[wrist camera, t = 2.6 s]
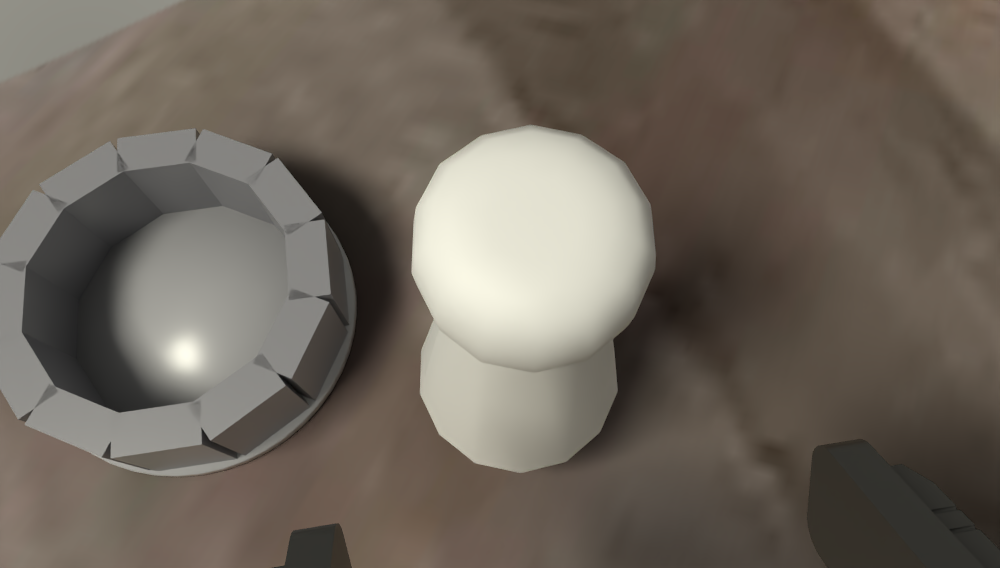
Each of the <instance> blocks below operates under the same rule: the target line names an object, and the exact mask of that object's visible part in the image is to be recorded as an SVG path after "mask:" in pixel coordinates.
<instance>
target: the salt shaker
mask: <svg viewBox="0 0 1000 568" xmlns="http://www.w3.org/2000/svg"><path fill="white" fill-rule="evenodd" d="M655 262H656V250H655V240H654V231H653V221H652V212H651V205H650V203H649V201H648V200H647V198H646V196H645V195H644V193H643V192H642V190H641V188H640V187H639V185H638V183H637V182H636V180H635V178H634V177H633V175H632V174H631V172H630V170H629V169H628V167H627V165H626V164H625V162H623V161H622V160H620V159H619V158H617V157H615V156H614V155H612V154H611V153H609V152H608V151H606V150H605V149H603V148H601V147H600V146H598V145H597V144H595V143H594V142H592V141H591V140H589V139H587V138H586V137H584V136H583V135H580V134H575V133H570V132H565V131H560V130H555V129H550V128H545V127H540V126H535V125H528V126H523V127H518V128H514V129H509V130H505V131H500V132H496V133H491V134H486V135H482V136H480V137H478V138H477V139H475V140H474V141H473V142H471V143H470V144H468V145H467V146H465V147H464V148H462V149H461V150H459V151H458V152H457V153H455V154H454V155H452V156H451V157H449V158H448V159H446V160H445V161H443V162H442V163H441V164H439V166H438V168H437V170H436V172H435V174H434V175H433V177H432V179H431V181H430V183H429V185H428V187H427V188H426V190H425V192H424V194H423V196H422V198H421V199H420V201H419V203H418V205H417V207H416V211H415V217H414V225H413V250H412V275H413V277H414V280H415V282H416V284H417V287H418V288H419V290H420V292H421V294H422V296H423V298H424V300H425V302H426V304H427V306H428V308H429V310H430V312H431V314H432V316H433V318H434V320H433V323H432V325H431V328H430V330H429V333H428V335H427V338H426V340H425V343H424V345H423V348H422V350H421V378H420V395H421V397H422V399H423V401H424V403H425V405H426V407H427V409H428V412H429V414H430V416H431V418H432V420H433V422H434V424H435V426H436V428H437V431H438V433H439V435H441V436H442V437H443V438H444V439H446V440H447V441H448V442H449V443H451V444H452V445H453V446H454V447H456V448H457V449H458V450H459V451H461V452H462V453H463V454H464V455H466V456H467V457H468V458H469V459H471V460H472V461H473V462H474V463H477V464H481V465H486V466H491V467H495V468H500V469H505V470H509V471H514V472H518V473H523V472H527V471H531V470H535V469H539V468H543V467H547V466H551V465H556V464H560V463H564V462H567V461H568V460H569V459H570V458H571V457H572V456H573V455H575V454H576V453H577V452H578V451H579V450H580V449H581V448H583V447H584V446H585V445H586V444H587V443H588V442H589V441H591V440H592V439H593V438H594V437H595V436H596V435H598V434H599V433H600V431H601V429H602V427H603V424H604V422H605V420H606V417H607V415H608V413H609V410H610V408H611V406H612V403H613V401H614V399H615V397H616V394H617V392H618V387H617V376H616V364H615V353H614V343H613V339H614V338H615V337H616V336H617V335H618V334H620V333H621V332H622V331H623V330H624V329H625V328H626V327H627V326H628V325H629V324H630V322H631V321H632V320H633V319H634V317H635V315H636V312H637V310H638V308H639V306H640V303H641V301H642V299H643V296H644V294H645V292H646V290H647V287H648V285H649V283H650V280H651V278H652V276H653V274H654V271H655Z"/></svg>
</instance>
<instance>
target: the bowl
mask: <svg viewBox="0 0 1000 568" xmlns="http://www.w3.org/2000/svg"><path fill="white" fill-rule="evenodd" d="M39 185H40V186H41V188H42V189H43V191H44V192H45V194H46V195H45V194H42V193H40V192H37V191H34V190H33V191H32V192H31V194H30V195H29V197H28V198H27V200H26V201H25V203H24V204H23V206H22V207H21V209H20V210H19V212H18V213H17V214H16V216H15V217H14V219H13V220H12V222H11V223H10V225H9V226H8V228H7V229H6V231H5V232H4V234H3V235H2V237H1V238H0V389H1V391H2V393H3V394H4V396H5V398H6V400H7V401H8V403H9V405H10V406H11V408H12V410H13V411H14V413H15V415H16V417H17V418H18V420H22V421H25V422H26V423H25V424H24V425H26V426H28V427H31V428H33V429H36V430H38V431H40V432H43V433H45V434H47V435H50V436H52V437H55V438H57V439H59V440H62V441H64V442H66V443H69V444H71V445H73V446H76V447H78V448H81V449H83V450H85V451H88V452H90V453H91V454H93V455H95V456H97V457H99V458H101V459H103V460H105V461H106V462H108V463H110V464H113V465H116V466H119V467H122V468H125V469H128V470H131V471H135V472H138V473H144V474H149V475H155V476H162V477H191V476H202V475H207V474H212V473H216V472H221V471H225V470H228V469H231V468H234V467H237V466H240V465H242V464H245V463H248V462H250V461H252V460H254V459H256V458H258V457H260V456H262V455H264V454H266V453H268V452H269V451H271V450H272V449H274V448H275V447H277V446H278V445H280V444H281V443H283V442H284V441H286V440H287V439H288V438H290V437H291V436H292V435H293V434H294V433H295V432H297V431H298V430H299V429H300V428H301V427H303V426H304V425H305V424H306V423H307V421H308V420H309V419H310V418H311V417H312V416H313V415H314V414H315V413H316V412H317V411H318V410H319V408H320V407H321V406H322V404H323V403H324V401H325V400H326V399H327V397H328V396H329V395H330V393H331V392H332V390H333V388H334V386H335V385H336V383H337V381H338V379H339V377H340V376H341V374H342V372H343V369H344V367H345V364H346V362H347V359H348V357H349V354H350V351H351V347H352V343H353V339H354V335H355V327H356V318H357V295H356V289H355V283H354V277H353V273H352V270H351V267H350V264H349V261H348V258H347V256H346V254H345V252H344V250H343V248H342V246H341V244H340V242H339V240H338V238H337V236H336V235H335V233H334V232H333V230H332V229H331V227H330V226H329V224H328V223H327V222H326V220H325V218H324V216H323V214H322V212H321V211H320V210H319V209H318V207H317V206H316V205H315V204H314V202H313V201H312V200H311V199H310V197H309V196H308V195H307V194H306V192H305V191H304V190H303V188H302V187H301V186H300V185H299V183H298V182H297V181H296V180H295V178H294V177H293V176H292V175H291V173H290V172H289V171H288V170H287V168H286V167H285V166H284V165H283V163H282V162H281V161H280V160H279V158H277V159H275V158H274V156H273V155H272V153H269V152H266V151H263V150H260V149H258V148H255V147H252V146H249V145H246V144H244V143H241V142H238V141H235V140H232V139H229V138H227V137H224V136H221V135H218V134H215V133H213V132H210V131H207V130H204V129H203V130H202V132H201V134H199V133H198V131H197V130H196V128H195V129H187V130H179V131H171V132H164V133H156V134H148V135H140V136H133V137H125V138H118V140H117V149H116V147H115V146H114V145H113V144H112V143H111V142H110V141H109V142H108V143H106V144H104V145H103V146H101V147H99V148H98V149H96V150H94V151H93V152H91V153H90V154H88V155H86V156H85V157H83V158H81V159H80V160H78V161H76V162H75V163H73V164H71V165H70V166H68V167H67V168H65V169H63V170H62V171H60V172H58V173H57V174H55V175H53V176H52V177H50V178H49V179H47V180H45V181H44V182H42V183H40V184H39Z"/></svg>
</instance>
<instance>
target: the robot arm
mask: <svg viewBox="0 0 1000 568" xmlns="http://www.w3.org/2000/svg"><path fill="white" fill-rule="evenodd" d="M807 520H808V528H809V532H810V536H811V539H812V542H813V544H814V546H815V549H816V551H817V552H818V554H819V556H820V557H821V559H822V560H823V562H824V563H825V564H826V566H827V567H828V568H1000V550H999V549H998V548H997V547H996V546H995V545H994V544H993V543H992V542H991V541H990V540H989V539H988V538H987V537H986V536H985V535H984V534H983V533H982V532H981V531H980V530H976V529H975V525H974V524H973V523H972V522H971V520H970V519H969V518H968V517H967V516H966V515H965V514H964V513H963V512H962V511H961V510H959V511H958V510H957V509H956V505H955V504H954V503H953V502H952V501H951V500H950V499H949V498H948V497H947V496H946V495H945V494H944V493H943V492H942V491H941V490H940V489H939V488H938V487H937V486H936V485H935V484H934V483H933V482H932V481H930V480H928V479H926V478H925V477H923V476H921V475H919V474H918V473H916V472H914V471H912V470H911V469H909V468H907V467H905V466H904V465H902V464H900V465H894V466H890V465H889V464H888V463H887V462H886V461H885V460H884V459H883V458H882V457H881V456H880V455H879V454H878V453H877V451H876V450H875V449H874V448H873V447H872V446H871V445H870V444H869V443H868V442H866V441H865V440H862V439H857V440H851V441H845V442H839V443H833V444H827V445H821V446H817V447H816V448H815V449H814V451H813V455H812V465H811V477H810V489H809V501H808V513H807ZM274 568H352V567H351V563H350V559H349V555H348V551H347V547H346V543H345V539H344V535H343V532H342V529H341V526H340V525H339V524H338V523H337V524H331V525H325V526H318V527H312V528H306V529H300V530H294V531H293V532H292V533H291V536H290V541H289V546H288V551H287V556H286V562H285V566H280V567H274Z"/></svg>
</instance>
